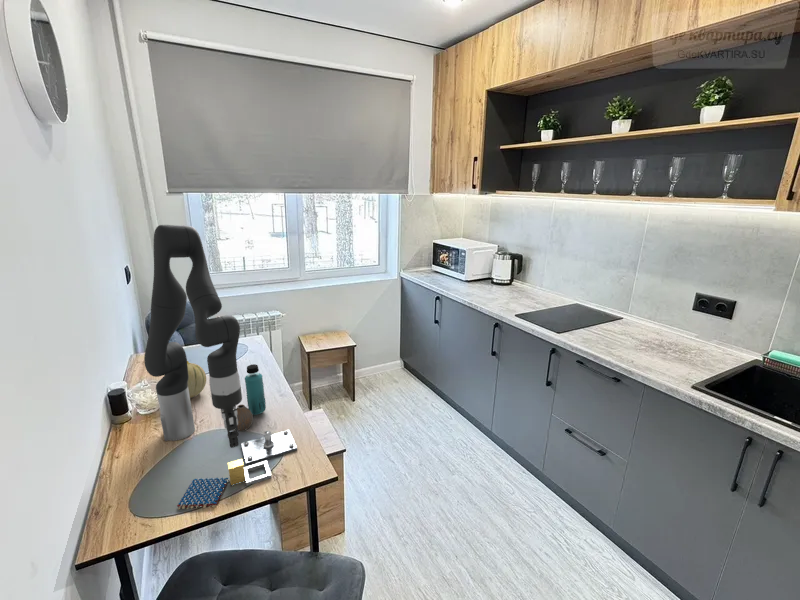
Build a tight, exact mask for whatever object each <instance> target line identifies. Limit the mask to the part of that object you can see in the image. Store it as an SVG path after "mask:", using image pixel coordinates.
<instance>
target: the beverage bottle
mask: <svg viewBox="0 0 800 600" xmlns="http://www.w3.org/2000/svg"><path fill="white" fill-rule="evenodd" d="M259 371H260V369H259V365H258V364H249V365H248V366H246V373H247V375H246V376H245V377H244V382H245V391H246V400H247V401H246V404H247V408H248V409H249V410H250V411H251V413H252V415H259V414H262V413H264V412H265V411H266V408H267V402H266V397H265V388H264V387H265V386H264V381H263V379H264V378H263V375H262V373H260V372H259Z"/></svg>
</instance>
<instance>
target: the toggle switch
mask: <svg viewBox="0 0 800 600" xmlns="http://www.w3.org/2000/svg"><path fill="white" fill-rule="evenodd" d="M263 435H264V436H262V437H258V438H255V439H251V440H247V441H244V442H241V443H240V445H241V450H242V454H243V459H245V460H244V462H245V466H246V465H247V466H250V464H251V465H254V464H257V463H260V462H263V461H268V460H269V459H273V458H276V457H277V458H278V457H279V456H282V455H286V454H289V453H292V452H295V451H298V446H297V444H296V442H295V439H294V438H293V434H292V433H291V431H290V429H286V430H283V431H280V432H276V433H273V434H272V431H271V430H266V431H264V434H263ZM253 463H254V464H253Z"/></svg>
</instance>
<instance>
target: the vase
mask: <svg viewBox="0 0 800 600" xmlns="http://www.w3.org/2000/svg"><path fill="white" fill-rule="evenodd" d="M236 409H237V419H238V425H237V429H238V432H239V431H240V432H243V431H246V430H248V429H249V428H250V427H252V424H253V419H254V418H253V414H252V413H251V411H250V410H249V409H248V407H247V406H245V405H244V404H238V405H236Z"/></svg>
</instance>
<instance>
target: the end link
mask: <svg viewBox="0 0 800 600" xmlns="http://www.w3.org/2000/svg"><path fill="white" fill-rule="evenodd" d="M227 468H228V475H229V482H230V486H231V485H233V484H236V483H239V482H243V481H246V482H245V484H246V486H247V485H249V486H251V485H250V484H252V485H254V483H255V484H257V482H258V483H260V482H264V481H266V480H269V479H272V473H271V469H270V467H269V463H268V460H264V461H260V462H257V463H254V464H251V465H247V466H245V465H244V461H243V458H239V459H236V460H232V461H230V462H229V461H228V462H227ZM262 468H264V471H265V472H266V473H265V474H261V475H258V476H256V477H253V478H250V477H249V472H252V471H255V470H257V469H262ZM251 470H252V471H251ZM248 471H249V472H248ZM243 483H244V482H243Z"/></svg>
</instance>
